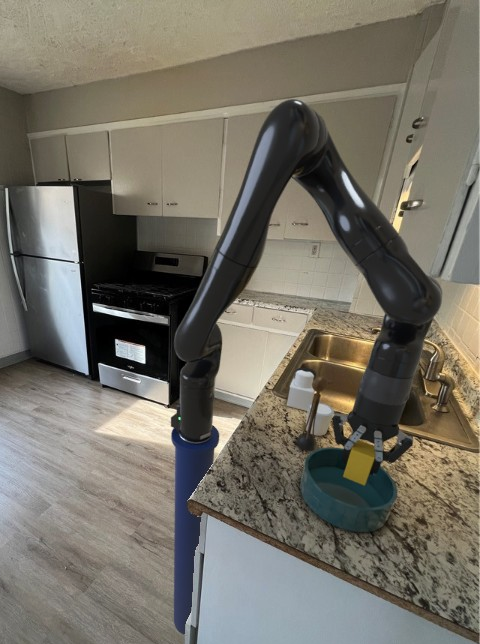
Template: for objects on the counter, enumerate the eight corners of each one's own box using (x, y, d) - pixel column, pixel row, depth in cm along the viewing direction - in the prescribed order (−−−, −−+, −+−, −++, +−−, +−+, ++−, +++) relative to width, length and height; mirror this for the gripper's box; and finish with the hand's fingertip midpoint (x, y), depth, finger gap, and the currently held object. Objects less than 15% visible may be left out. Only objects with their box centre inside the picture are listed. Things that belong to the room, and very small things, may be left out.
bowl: (289, 503, 65) (294, 481, 62) (312, 457, 78) (317, 437, 75) (383, 549, 56) (393, 526, 53) (391, 489, 69) (400, 468, 66)
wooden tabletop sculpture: (311, 437, 85) (327, 370, 76) (322, 447, 81) (340, 379, 72) (292, 440, 83) (306, 373, 75) (303, 452, 79) (319, 382, 71)
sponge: (342, 477, 63) (351, 449, 60) (346, 465, 66) (355, 438, 63) (364, 486, 61) (374, 457, 58) (367, 473, 64) (377, 446, 61)
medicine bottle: (290, 396, 105) (296, 363, 100) (312, 401, 102) (319, 368, 97) (285, 406, 99) (292, 372, 94) (309, 412, 96) (317, 377, 91)
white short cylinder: (325, 424, 91) (331, 403, 88) (331, 438, 85) (337, 417, 82) (301, 420, 92) (305, 400, 89) (304, 435, 86) (309, 413, 83)
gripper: (431, 396, 54) (400, 471, 62) (343, 374, 62) (325, 443, 69) (431, 415, 49) (397, 495, 56) (335, 388, 56) (316, 463, 63)
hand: (358, 466), depth 62 cm, fingers closed on sponge, 4 cm apart
